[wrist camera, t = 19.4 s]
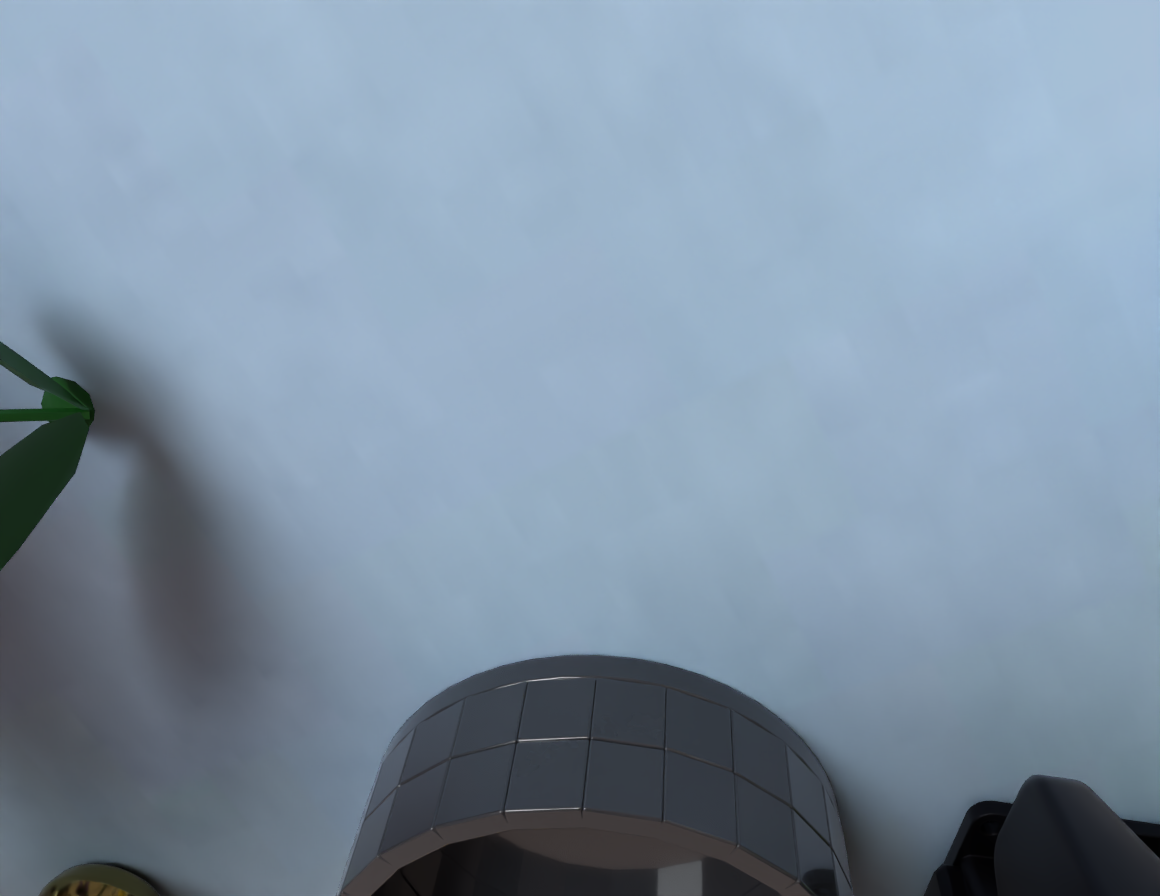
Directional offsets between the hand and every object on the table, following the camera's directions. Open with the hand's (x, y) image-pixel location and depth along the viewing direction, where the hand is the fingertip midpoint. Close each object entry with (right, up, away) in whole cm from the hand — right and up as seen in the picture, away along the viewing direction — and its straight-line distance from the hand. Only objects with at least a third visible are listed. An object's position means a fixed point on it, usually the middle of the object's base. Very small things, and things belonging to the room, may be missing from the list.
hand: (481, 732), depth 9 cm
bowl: (+1, -8, +19) cm, 20 cm away
